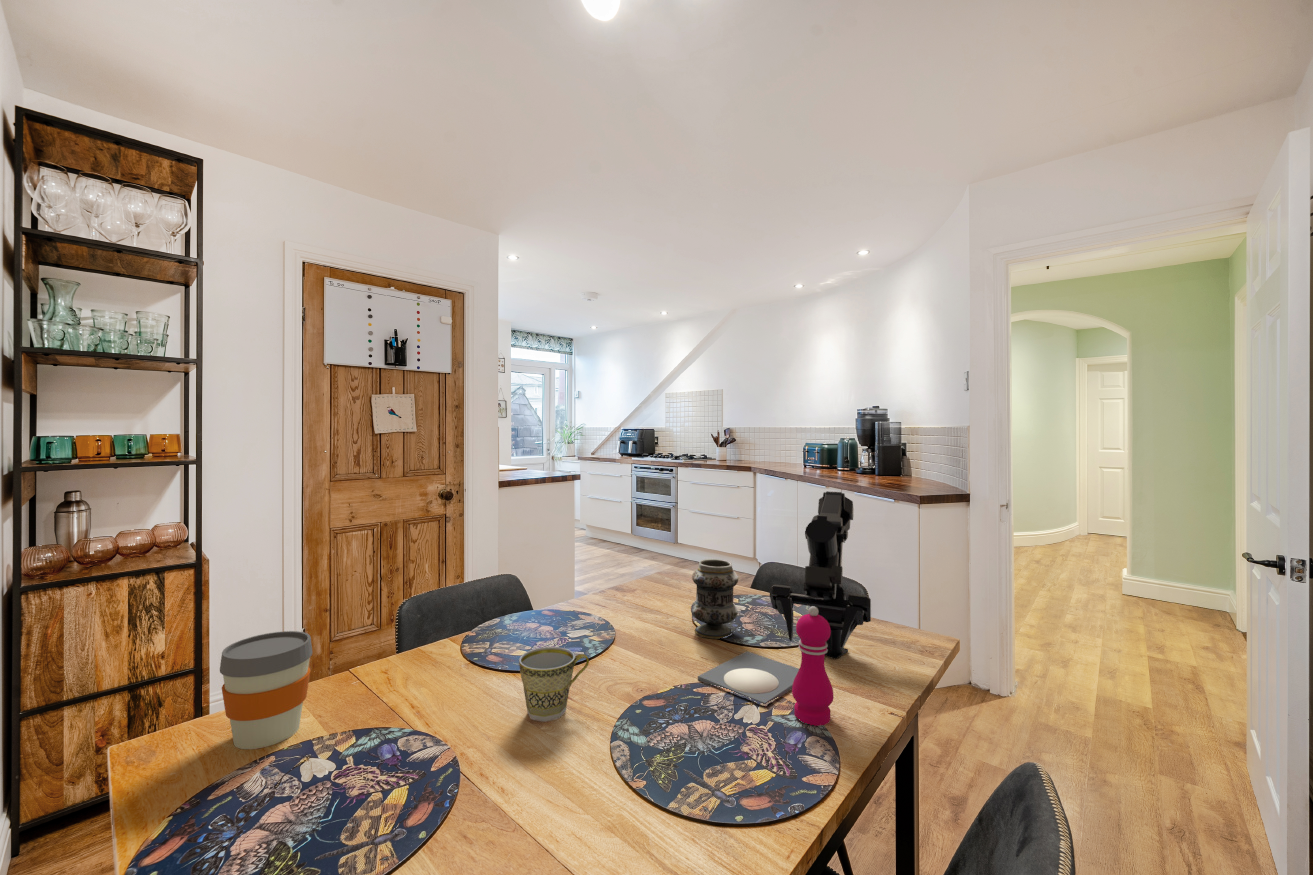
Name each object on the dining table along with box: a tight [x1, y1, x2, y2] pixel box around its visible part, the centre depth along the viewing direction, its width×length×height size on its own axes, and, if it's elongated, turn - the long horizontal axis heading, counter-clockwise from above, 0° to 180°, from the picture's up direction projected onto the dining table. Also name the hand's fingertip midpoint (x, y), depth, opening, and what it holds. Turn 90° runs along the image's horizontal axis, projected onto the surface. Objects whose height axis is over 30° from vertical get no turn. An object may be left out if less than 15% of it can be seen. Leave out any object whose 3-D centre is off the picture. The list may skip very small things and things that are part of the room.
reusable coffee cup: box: [219, 630, 313, 750], centre depth 90 cm, size 13×13×15 cm
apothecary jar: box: [690, 558, 739, 640], centre depth 138 cm, size 12×12×18 cm
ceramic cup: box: [518, 646, 590, 723], centre depth 99 cm, size 13×10×10 cm
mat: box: [697, 650, 800, 704], centre depth 113 cm, size 18×16×1 cm
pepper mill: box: [791, 606, 835, 727], centre depth 97 cm, size 7×7×20 cm
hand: (815, 643), depth 100 cm, fingers open, 9 cm apart
